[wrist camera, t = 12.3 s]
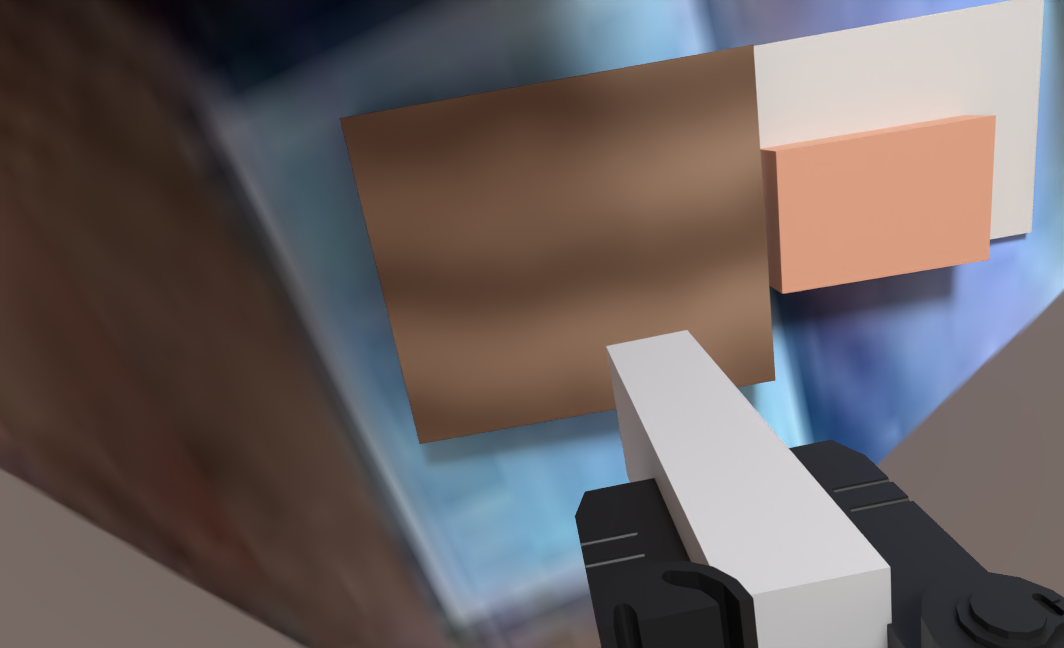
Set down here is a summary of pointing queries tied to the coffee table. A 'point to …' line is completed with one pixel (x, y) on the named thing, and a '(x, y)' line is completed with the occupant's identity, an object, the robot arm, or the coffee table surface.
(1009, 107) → the mat
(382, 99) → the coffee table surface
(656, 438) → the robot arm
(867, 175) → the salmon flat rectangular block
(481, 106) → the board
